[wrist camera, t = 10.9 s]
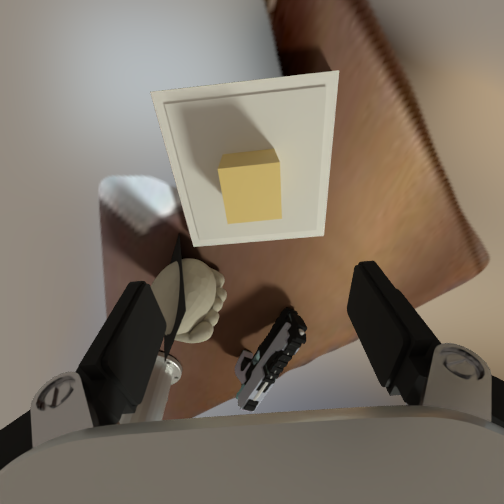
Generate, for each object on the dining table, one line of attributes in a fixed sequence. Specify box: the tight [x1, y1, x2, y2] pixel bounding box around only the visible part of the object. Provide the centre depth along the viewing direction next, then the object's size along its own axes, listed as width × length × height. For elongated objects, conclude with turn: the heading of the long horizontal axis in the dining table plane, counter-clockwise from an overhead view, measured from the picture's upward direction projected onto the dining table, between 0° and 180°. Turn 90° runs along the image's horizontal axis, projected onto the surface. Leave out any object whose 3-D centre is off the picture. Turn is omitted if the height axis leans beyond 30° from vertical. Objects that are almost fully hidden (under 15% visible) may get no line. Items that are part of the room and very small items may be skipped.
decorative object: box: [151, 235, 227, 363], centre depth 30 cm, size 12×10×10 cm
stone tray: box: [150, 70, 339, 247], centre depth 25 cm, size 16×16×2 cm
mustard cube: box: [218, 149, 282, 224], centre depth 22 cm, size 5×5×5 cm
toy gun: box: [235, 308, 307, 412], centre depth 40 cm, size 2×18×11 cm, turn 148°
